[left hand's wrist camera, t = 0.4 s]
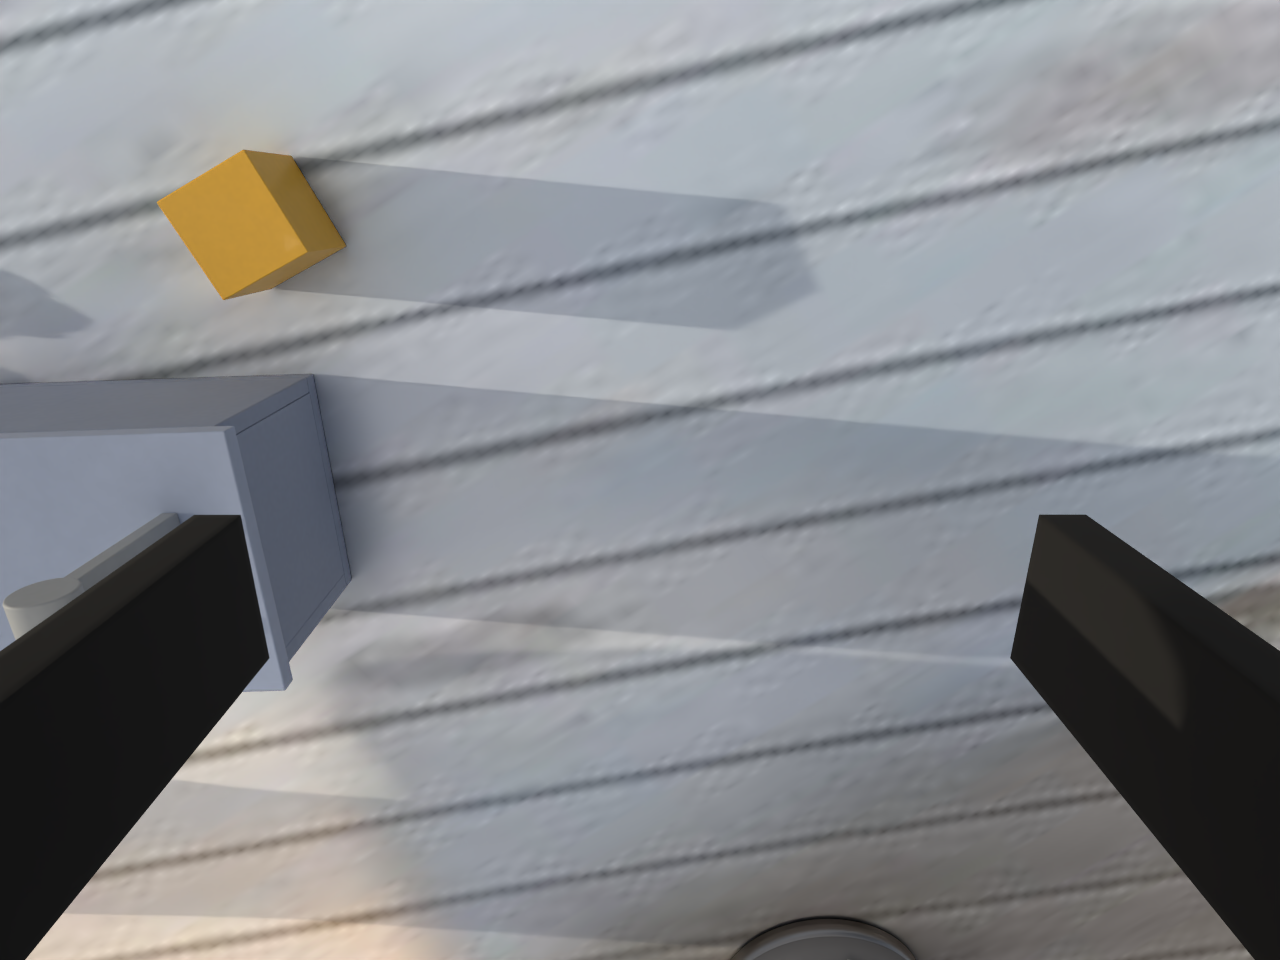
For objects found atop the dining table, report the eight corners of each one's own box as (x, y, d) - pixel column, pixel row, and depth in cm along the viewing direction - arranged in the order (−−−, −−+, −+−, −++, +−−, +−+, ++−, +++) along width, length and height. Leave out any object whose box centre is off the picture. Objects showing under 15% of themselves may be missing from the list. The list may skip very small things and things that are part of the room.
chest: (313, 373, 40) (214, 425, 30) (352, 579, 44) (275, 680, 35) (-8, 384, 40) (-202, 439, 31) (62, 588, 44) (-90, 690, 35)
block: (291, 155, 36) (243, 149, 32) (346, 246, 37) (308, 252, 33) (213, 202, 37) (156, 201, 32) (270, 289, 38) (223, 300, 34)
